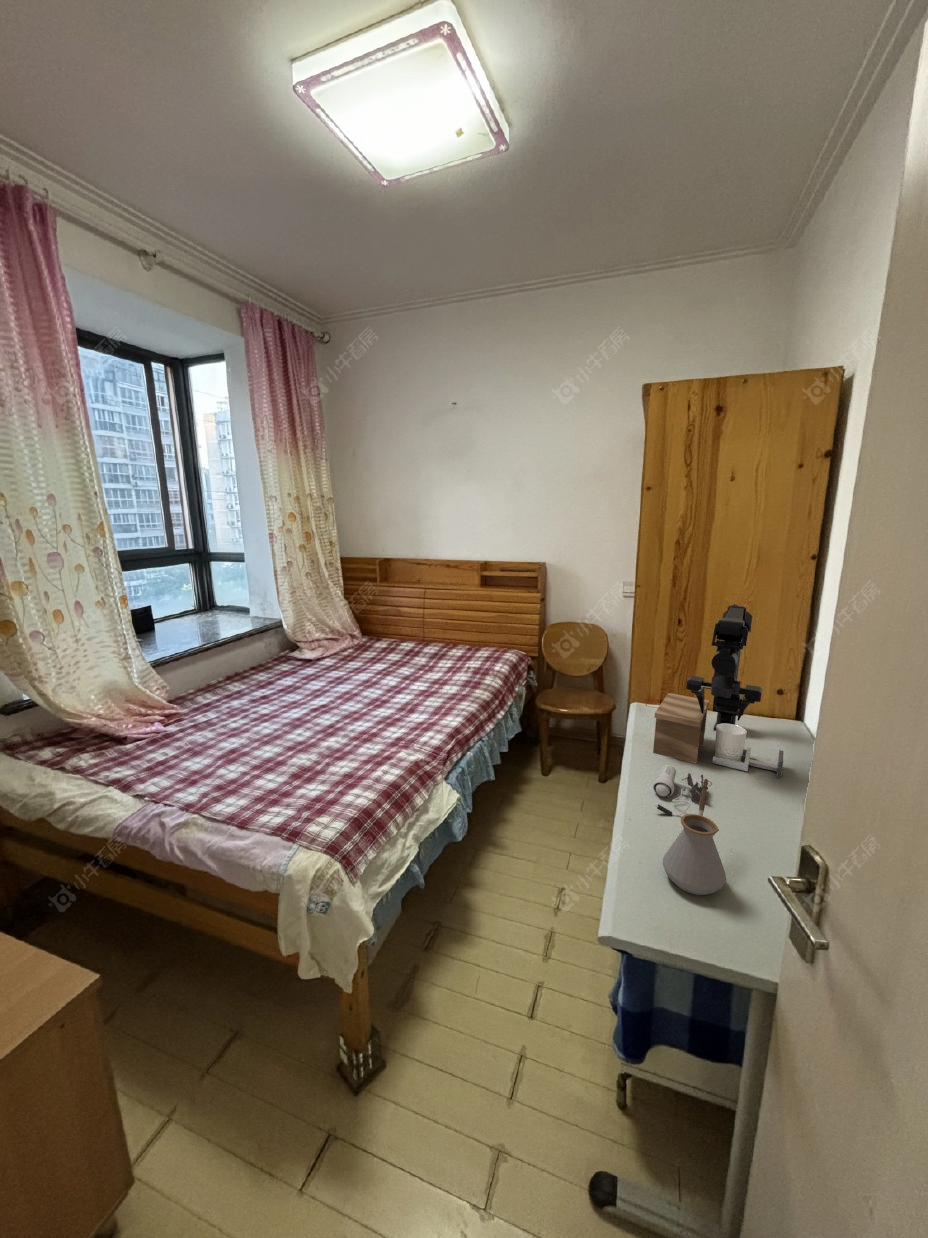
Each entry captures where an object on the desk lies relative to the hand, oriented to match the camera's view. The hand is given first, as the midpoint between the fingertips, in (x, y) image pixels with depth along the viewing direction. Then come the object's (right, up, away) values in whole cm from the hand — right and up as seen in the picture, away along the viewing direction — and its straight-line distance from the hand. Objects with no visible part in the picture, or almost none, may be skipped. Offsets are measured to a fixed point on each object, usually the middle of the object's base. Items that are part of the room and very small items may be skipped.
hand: (720, 716), depth 143 cm
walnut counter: (-7, -12, +12) cm, 19 cm away
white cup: (+5, -14, +5) cm, 16 cm away
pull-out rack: (+9, -15, +2) cm, 17 cm away
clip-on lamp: (-19, -19, -16) cm, 31 cm away
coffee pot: (-26, -24, -40) cm, 53 cm away
